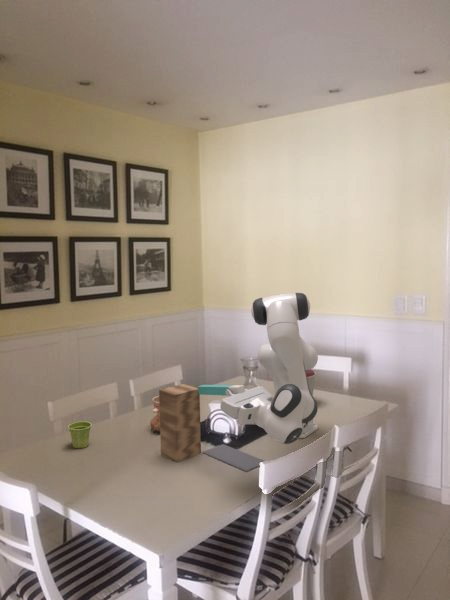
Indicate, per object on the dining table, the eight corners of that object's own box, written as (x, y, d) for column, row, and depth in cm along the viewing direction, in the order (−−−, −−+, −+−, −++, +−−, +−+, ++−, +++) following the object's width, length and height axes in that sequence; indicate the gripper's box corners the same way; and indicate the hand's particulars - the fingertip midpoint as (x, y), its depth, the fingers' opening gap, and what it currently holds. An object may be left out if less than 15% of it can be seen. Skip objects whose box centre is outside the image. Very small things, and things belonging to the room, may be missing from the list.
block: (204, 392, 190) (203, 384, 190) (245, 393, 174) (244, 385, 174) (198, 394, 188) (197, 386, 188) (239, 396, 172) (238, 387, 172)
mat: (223, 445, 204) (223, 444, 204) (266, 462, 187) (266, 461, 187) (202, 453, 197) (202, 451, 197) (246, 472, 179) (246, 470, 179)
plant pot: (97, 443, 208) (96, 423, 207) (82, 451, 200) (81, 430, 199) (79, 440, 212) (78, 420, 211) (64, 448, 204) (62, 427, 203)
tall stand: (184, 446, 204) (183, 383, 201) (200, 453, 197) (199, 388, 194) (161, 454, 196) (159, 389, 193) (176, 462, 188) (174, 395, 186)
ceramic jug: (166, 438, 212) (166, 406, 211) (141, 431, 220) (141, 400, 219) (192, 426, 227) (192, 396, 226) (168, 420, 235) (168, 391, 234)
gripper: (281, 394, 174) (253, 375, 182) (240, 410, 160) (212, 388, 168) (277, 409, 176) (249, 389, 185) (236, 426, 162) (208, 404, 171)
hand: (231, 389), depth 176 cm, fingers closed on block, 3 cm apart
